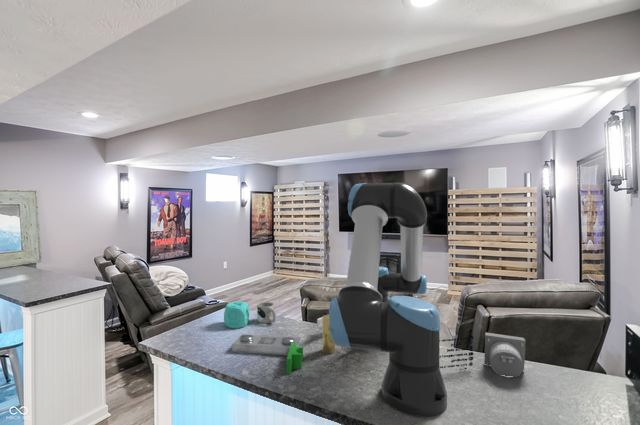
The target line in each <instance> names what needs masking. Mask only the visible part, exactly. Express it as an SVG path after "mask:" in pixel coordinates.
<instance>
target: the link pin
mask: <svg viewBox="0 0 640 425" xmlns="http://www.w3.org/2000/svg"><path fill="white" fill-rule="evenodd" d="M322 317H323V326H322V342H321V343H322V344H321V345H322V346H321V347H322V349H321V350H322V353H324V354H325V355H332V354H334V353H336V344H335V343H334V342H333V340H332V337H331V333H330V325H329V315H324V314H323V315H322Z"/></svg>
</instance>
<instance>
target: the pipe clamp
mask: <svg viewBox="0 0 640 425" xmlns="http://www.w3.org/2000/svg"><path fill="white" fill-rule="evenodd" d="M303 361H304V346H299V347H296V343H295V342H292V344H291V347H290V350H289V353H288V356H286V374H287V375H291V373H292V370H293V369H294V370H296V369H297V370H301V369H302V362H303Z"/></svg>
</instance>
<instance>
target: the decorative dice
mask: <svg viewBox="0 0 640 425" xmlns="http://www.w3.org/2000/svg"><path fill="white" fill-rule="evenodd" d="M223 313H224V314H223V323H224V325H225V326H226V327H227V328H229V329H241V328H245V327H246V326H247V325H248V324H249V320H250V306H249V304H248V303H247V302H245V301H232V302H229V303H227V304H226V305H225V308H224V312H223Z"/></svg>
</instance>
